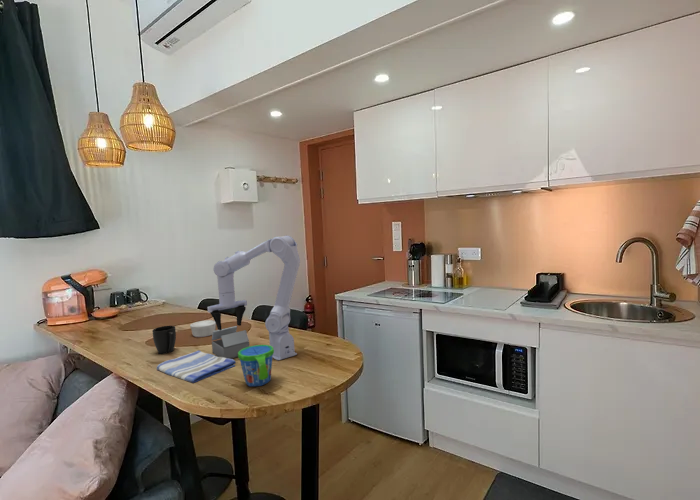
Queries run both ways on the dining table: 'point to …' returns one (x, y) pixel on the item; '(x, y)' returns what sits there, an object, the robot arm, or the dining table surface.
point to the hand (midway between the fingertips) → (229, 327)
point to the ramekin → (203, 328)
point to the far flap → (223, 332)
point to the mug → (164, 339)
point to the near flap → (234, 338)
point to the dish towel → (195, 366)
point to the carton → (227, 349)
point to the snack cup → (256, 364)
